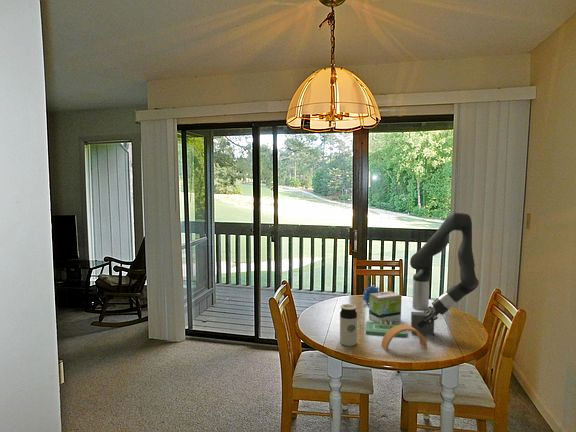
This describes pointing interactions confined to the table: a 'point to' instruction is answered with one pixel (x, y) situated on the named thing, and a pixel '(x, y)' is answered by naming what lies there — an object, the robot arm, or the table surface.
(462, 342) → the table surface
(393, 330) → the arch
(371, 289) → the grapes
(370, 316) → the tea box
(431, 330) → the block
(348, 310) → the travel mug
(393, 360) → the table surface
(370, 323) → the board
